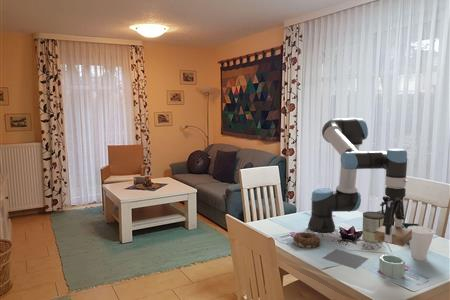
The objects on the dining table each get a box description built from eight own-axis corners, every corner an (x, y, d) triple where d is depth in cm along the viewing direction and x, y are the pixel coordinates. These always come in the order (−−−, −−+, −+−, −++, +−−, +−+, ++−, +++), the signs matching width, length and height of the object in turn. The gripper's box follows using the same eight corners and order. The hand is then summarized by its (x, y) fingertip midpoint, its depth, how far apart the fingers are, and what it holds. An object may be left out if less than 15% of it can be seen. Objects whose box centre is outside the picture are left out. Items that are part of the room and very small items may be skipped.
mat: (322, 259, 158) (322, 258, 158) (336, 250, 168) (336, 248, 168) (355, 270, 147) (355, 268, 147) (368, 259, 157) (368, 258, 157)
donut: (288, 245, 176) (288, 235, 175) (302, 237, 185) (302, 228, 185) (312, 252, 166) (312, 243, 165) (326, 244, 175) (326, 235, 175)
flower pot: (423, 246, 171) (424, 229, 170) (404, 245, 173) (405, 228, 172) (417, 239, 179) (418, 223, 178) (399, 238, 181) (400, 222, 180)
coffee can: (361, 235, 187) (362, 210, 185) (381, 237, 183) (383, 212, 182) (362, 242, 177) (363, 216, 175) (384, 244, 174) (385, 218, 172)
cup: (431, 264, 151) (433, 235, 150) (405, 259, 157) (406, 231, 155) (432, 255, 160) (433, 228, 158) (406, 251, 166) (408, 224, 164)
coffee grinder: (395, 233, 188) (397, 202, 186) (374, 232, 190) (375, 201, 188) (387, 224, 204) (388, 195, 202) (368, 223, 206) (369, 194, 204)
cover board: (374, 239, 142) (375, 230, 142) (384, 232, 150) (384, 223, 150) (402, 246, 135) (403, 237, 134) (411, 239, 142) (412, 229, 142)
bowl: (376, 272, 144) (377, 259, 143) (384, 265, 151) (384, 252, 150) (399, 280, 138) (399, 266, 137) (406, 272, 144) (407, 258, 144)
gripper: (395, 193, 129) (392, 248, 131) (414, 183, 145) (411, 232, 148) (375, 190, 134) (373, 243, 137) (395, 180, 151) (393, 228, 153)
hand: (393, 237), depth 142 cm, fingers closed on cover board, 11 cm apart
